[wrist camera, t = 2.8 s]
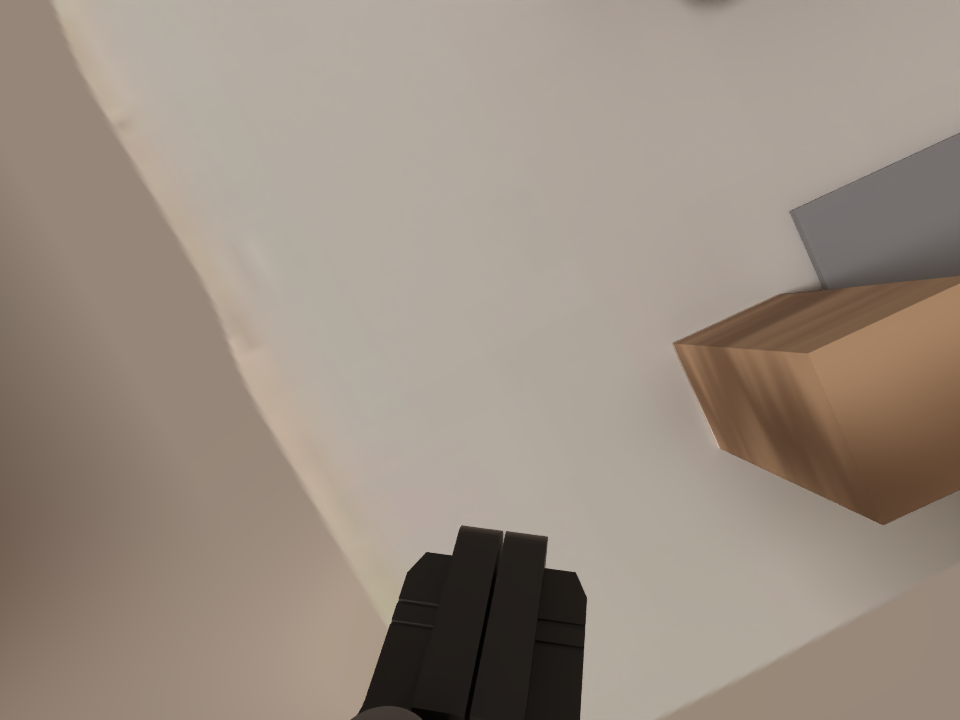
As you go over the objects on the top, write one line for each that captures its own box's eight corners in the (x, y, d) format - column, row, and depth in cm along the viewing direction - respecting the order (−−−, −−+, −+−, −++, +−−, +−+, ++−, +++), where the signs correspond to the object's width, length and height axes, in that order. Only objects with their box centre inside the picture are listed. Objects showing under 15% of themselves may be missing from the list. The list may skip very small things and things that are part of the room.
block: (672, 343, 30) (807, 353, 18) (776, 295, 30) (980, 273, 18) (718, 447, 31) (883, 525, 19) (822, 399, 31) (1054, 445, 19)
